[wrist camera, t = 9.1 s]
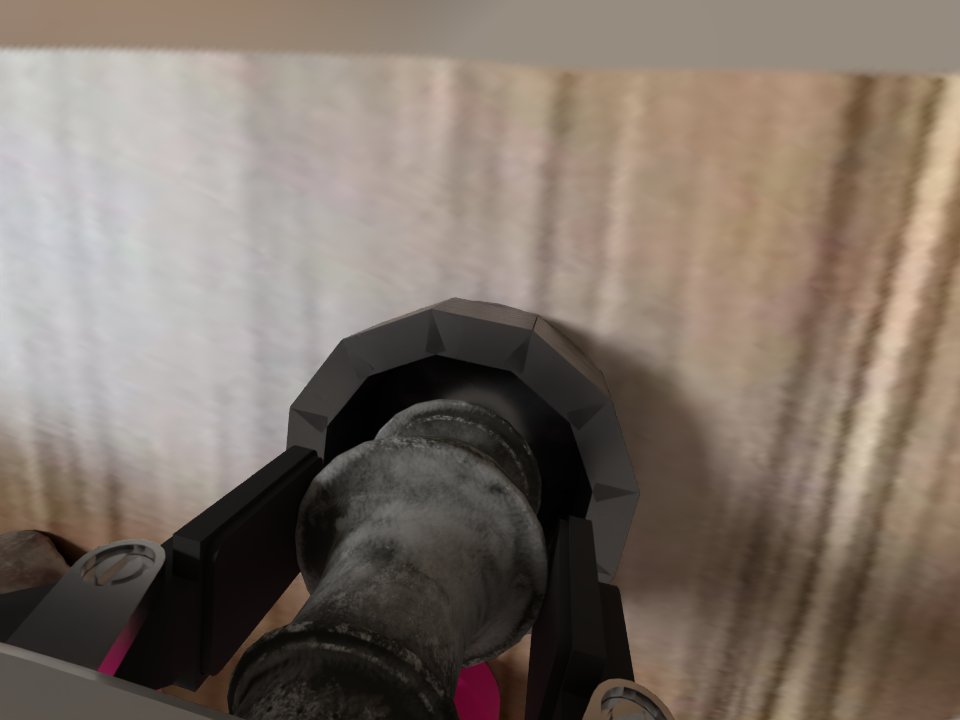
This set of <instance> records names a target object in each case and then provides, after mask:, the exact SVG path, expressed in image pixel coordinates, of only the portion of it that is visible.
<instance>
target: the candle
mask: <svg viewBox="0 0 960 720" xmlns="http://www.w3.org/2000/svg"><path fill="white" fill-rule="evenodd" d="M70 568H71V567H70V566H69V565H68V564H66V562H65V560H64V558H63V556H62V555H61V554H60V553H59V552H58V551H57V549H56V547H55V546H54V544H53V543H52V541H51V540H50V538H48V537H47V536H45V535H43V534H41V533H39V532H36V531H27V530H25V531H14V532H9V533H5V534H2V535H0V594H4V593H9V592H13V591H18V590H23V589H27V588H32V587H37V586H41V585H46V584H50V583H55V582H59V580H60V579H61V578H62V577H63V576H64V575H65V573H66V572H67V571H68V570H69V569H70Z"/></svg>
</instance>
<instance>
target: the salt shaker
mask: <svg viewBox="0 0 960 720" xmlns="http://www.w3.org/2000/svg"><path fill="white" fill-rule="evenodd" d="M541 483H542V481H541V477H540V473H539V469H538V465H537V461H536V458H535V456H534V454H533V453H532V451H531V449H530V447H529V446H528V444H527V442H526V440H525V438H524V437H523V436H522V435H521V434H520V433H519V432H518V431H517V430H516V429H515V428H514V427H513V426H512V425H511V424H510V423H509V422H508V421H507V420H505V419H504V418H502V417H500V416H499V415H497V414H496V413H494V412H492V411H491V410H489V409H488V408H485V407H482V406H479V405H476V404H473V403H470V402H467V401H464V400H449V399H436V400H431V401H426V402H421V403H416V404H415V405H413V406H411V407H409V408H407V409H405V410H403V411H401V412H399V413H397V414H396V415H395V416H394V417H393V418H392V419H391V420H390V421H388V422H387V423H386V424H385V425H384V426H383V427H382V428H381V429H380V430H379V432H378V434H377V436H376V437H375V439H374V440H372V441H367V442H364V443H362V444H360V445H358V446H356V447H354V448H352V449H350V450H348V451H346V452H344V453H342V454H340V455H338V456H336V457H335V458H334V459H333V460H332V461H331V462H330V463H329V464H328V465H327V466H326V467H325V468H324V469H323V470H322V471H321V472H320V473H319V474H318V475H317V476H316V477H315V478H314V479H313V480H312V482H311V484H310V486H309V488H308V490H307V492H306V493H305V495H304V497H303V499H302V501H301V503H300V506H299V511H298V517H297V524H296V530H295V544H296V555H297V562H298V565H299V568H300V571H301V573H302V576H303V579H304V582H305V584H306V587H307V590H308V592H309V593H310V595H311V596H310V597H309V599H308V600H307V602H306V603H305V604H304V606H303V607H302V609H301V610H300V611H299V613H298V614H297V616H296V617H295V618H294V620H293V621H292V623H290V624H288V625H285V626H283V627H280V628H278V629H275V630H273V631H270V632H268V633H266V634H264V635H263V636H262V637H261V638H260V639H258V640H257V641H256V642H255V643H254V644H252V645H251V646H250V647H249V648H248V649H247V650H246V651H245V652H244V654H243V655H242V657H241V659H240V660H239V662H238V664H237V666H236V667H235V669H234V671H233V672H232V674H231V679H230V685H229V690H228V696H227V700H228V707H229V714H230V715H233V716H236V717H239V718H242V719H245V720H460V719H459V715H458V712H457V709H456V706H455V703H454V697H455V692H456V688H457V684H458V680H459V675H460V671H461V669H465V668H468V667H471V666H474V665H477V664H480V663H483V662H486V661H489V660H492V659H495V658H496V657H498V656H499V655H501V654H502V653H504V652H505V651H507V650H508V649H510V648H511V647H513V646H514V645H516V644H517V643H518V642H520V640H521V639H522V638H523V637H524V635H525V634H526V633H527V632H528V630H529V629H530V628H531V627H532V625H533V624H534V623H535V622H536V620H537V619H538V616H539V614H540V611H541V608H542V604H543V601H544V597H545V594H546V590H547V585H548V581H549V562H550V557H549V553H548V549H547V545H546V541H545V537H544V533H543V529H542V525H541V524H540V522H539V520H538V518H537V514H538V511H539V508H540V505H541Z"/></svg>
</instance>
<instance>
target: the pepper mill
mask: <svg viewBox="0 0 960 720" xmlns="http://www.w3.org/2000/svg"><path fill="white" fill-rule="evenodd" d="M454 703H455V706H456V709H457V712H458V715H459V719H460V720H498V719H499V711H500V695H499V689H498V686H497V683H496V680H495V678H494V676H493V674H492V672H491V671H490V669H489V667H488V666H487V664H486V662H483V663H480V664H477V665H474V666H471V667H468V668H465V669H461V671H460V675H459V680H458V684H457V688H456V692H455V697H454Z"/></svg>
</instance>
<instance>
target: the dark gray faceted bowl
mask: <svg viewBox="0 0 960 720" xmlns="http://www.w3.org/2000/svg"><path fill="white" fill-rule="evenodd" d="M436 399H449V400H464V401H467V402H470V403H473V404H476V405H479V406H482V407H485V408H488V409H489V410H491V411H492V412H494V413H496V414H497V415H499V416H500V417H502V418H504V419H505V420H507V421H508V422H509V423H510V424H511V425H512V426H513V427H514V428H515V429H516V430H517V431H518V432H519V433H520V434H521V435H522V436H523V437H524V438H525V440H526V442H527V444H528V446H529V447H530V449H531V451H532V453H533V454H534V456H535V458H536V461H537V465H538V469H539V473H540V477H541V481H542V483H541V505H540V508H539V511H538V514H537V518H538V520H539V522H540V524H541V525H542V529H543V533H544V537H545V541H546V545H547V549H548V553H550V549H551V545H552V542H553V538H554V534H555V530H556V526H557V522H558V520H559V519H562V520H567V517H568V515H571V516H575V517H579V518H583V519H587V520H591V521H592V525H593V535H594V544H595V553H596V563H597V572H598V581H599V582H602V583H606V584H607V583H608V582H609V581H610V580H612V579H613V578H614V577H615V574H616V571H617V567H618V564H619V561H620V557H621V554H622V551H623V548H624V544H625V541H626V538H627V534H628V531H629V528H630V524H631V521H632V518H633V515H634V511H635V508H636V505H637V501H638V498H639V495H640V491H639V488H638V484H637V481H636V478H635V475H634V471H633V468H632V465H631V462H630V458H629V455H628V452H627V449H626V445H625V442H624V439H623V436H622V433H621V429H620V426H619V423H618V420H617V416H616V413H615V410H614V407H613V403H612V400H611V397H610V394H609V391H608V388H607V385H606V382H605V379H604V376H603V373H602V371H601V370H600V369H599V368H597V367H596V366H595V365H594V364H593V363H592V362H591V361H590V360H588V359H587V358H586V356H585V355H584V354H583V353H582V352H581V351H580V350H579V349H578V348H577V347H576V345H575V344H574V343H573V342H572V341H571V340H570V339H568V338H567V337H566V336H564V335H563V334H562V333H561V332H559V331H558V330H557V329H555V328H554V327H553V326H551V325H549V324H548V323H547V322H546V321H545V320H543V319H542V318H541V317H540V316H539V315H538V316H537V314H532V313H528V312H523V311H521V310H519V309H515V308H512V307H508V306H505V305H501V304H496V303H489V302H482V301H470V300H465V299H460V298H452V299H449V300H446V301H443V302H440V303H437V304H434V305H431V306H429V307H425V308H421V309H419V310H417V311H414V312H411V313H408V314H405V315H403V316H400V317H397V318H394V319H391V320H388V321H385V322H382V323H380V324H377V325H375V326H373V327H370V328H368V329H366V330H363V331H361V332H358V333H356V334H354V335H351V336H349V337H347V338H344V339H343V340H341V341H340V343H339V344H338V345H337V347H336V348H335V349H334V350H333V352H332V353H331V354H330V356H329V357H328V358H327V360H326V361H325V362H324V363H323V365H322V366H321V367H320V369H319V370H318V371H317V373H316V374H315V375H314V376H313V378H312V379H311V380H310V382H309V383H308V384H307V386H306V387H305V388H304V389H303V391H302V392H301V393H300V395H299V396H298V397H297V398H296V400H295V401H294V402H293V404H292V405H291V406H290V411H289V423H288V435H287V447H286V450H287V449H289V448H290V447H292V446H294V445H297V446H301V447H305V448H309V449H313V450H316V451H317V453H318V457H321V458H322V459H323V468H322V470H323V469H324V468H325V467H326V466H327V465H328V464H329V463H330V462H331V461H332V460H333V459H334V458H335V457H336V456H338V455H340V454H342V453H344V452H346V451H348V450H350V449H352V448H354V447H356V446H358V445H360V444H362V443H364V442H367V441H372V440H374V439H375V437H376V436H377V434H378V432H379V430H380V429H381V428H382V427H383V426H384V425H385V424H386V423H387V422H388V421H390V420H391V419H392V418H393V417H394V416H395V415H396V414H397V413H399V412H401V411H403V410H405V409H407V408H409V407H411V406H413V405H415V404H416V403H421V402H426V401H431V400H436ZM526 634H532V627H531V628H530V629H529V630H528V632H527V633H526ZM526 634H525V635H526Z"/></svg>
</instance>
